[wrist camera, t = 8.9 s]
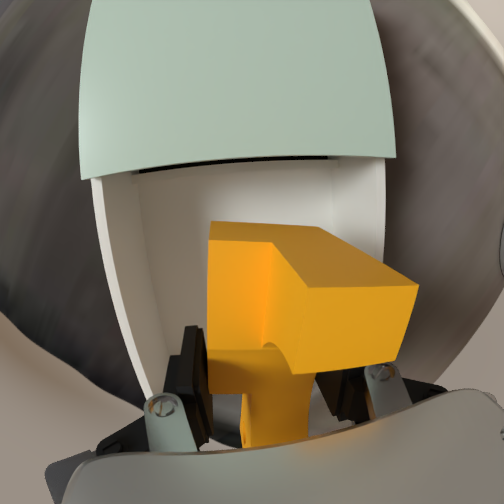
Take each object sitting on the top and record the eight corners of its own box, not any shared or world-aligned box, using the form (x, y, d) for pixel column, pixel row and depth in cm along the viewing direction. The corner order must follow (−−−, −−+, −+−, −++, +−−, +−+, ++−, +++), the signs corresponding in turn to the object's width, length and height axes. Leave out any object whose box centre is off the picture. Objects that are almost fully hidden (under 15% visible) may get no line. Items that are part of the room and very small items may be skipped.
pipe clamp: (210, 220, 11) (204, 285, 4) (318, 226, 11) (419, 285, 5) (210, 428, 14) (215, 521, 8) (282, 425, 14) (308, 512, 8)
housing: (312, -7, 15) (341, -50, 9) (330, 343, 24) (361, 392, 18) (135, 1, 14) (112, -44, 7) (166, 362, 23) (155, 419, 16)
